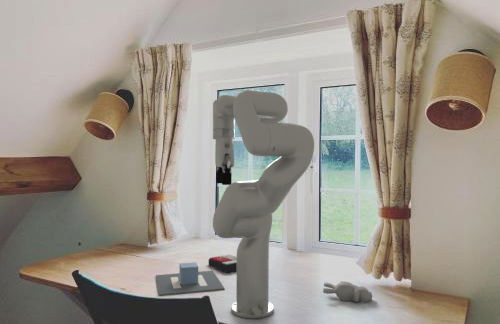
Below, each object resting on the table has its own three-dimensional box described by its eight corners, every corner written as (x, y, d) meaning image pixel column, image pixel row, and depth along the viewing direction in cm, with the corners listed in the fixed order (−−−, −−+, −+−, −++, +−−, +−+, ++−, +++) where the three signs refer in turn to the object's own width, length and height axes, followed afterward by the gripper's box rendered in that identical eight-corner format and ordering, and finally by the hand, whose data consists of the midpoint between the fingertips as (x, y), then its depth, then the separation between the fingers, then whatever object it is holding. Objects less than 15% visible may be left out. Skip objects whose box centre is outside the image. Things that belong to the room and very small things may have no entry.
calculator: (230, 253, 167) (249, 259, 155) (230, 263, 167) (249, 269, 154) (208, 257, 161) (226, 263, 148) (208, 267, 160) (226, 274, 148)
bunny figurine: (373, 293, 114) (324, 284, 118) (371, 310, 115) (321, 300, 118) (371, 284, 124) (325, 275, 127) (369, 299, 124) (323, 290, 127)
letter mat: (224, 289, 129) (224, 288, 129) (158, 296, 123) (158, 294, 123) (212, 271, 150) (212, 270, 150) (156, 276, 144) (156, 275, 144)
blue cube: (198, 283, 134) (198, 266, 134) (181, 284, 133) (181, 267, 133) (195, 278, 140) (195, 262, 140) (179, 279, 138) (179, 263, 138)
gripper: (240, 133, 124) (240, 185, 124) (228, 136, 141) (228, 182, 141) (218, 132, 122) (217, 185, 122) (208, 136, 139) (208, 182, 138)
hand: (223, 183), depth 131 cm, fingers open, 9 cm apart
